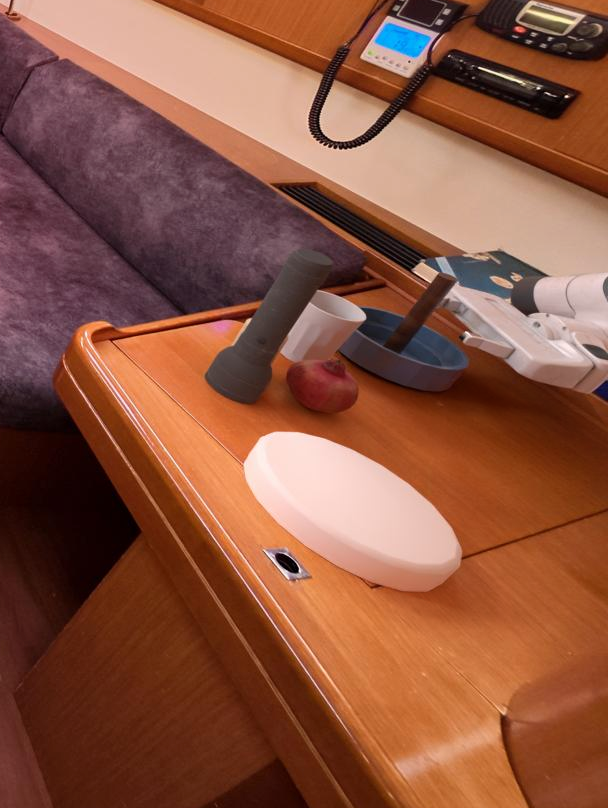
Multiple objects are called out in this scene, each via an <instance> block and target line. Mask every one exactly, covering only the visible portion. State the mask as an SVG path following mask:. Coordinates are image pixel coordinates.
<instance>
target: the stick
mask: <svg viewBox="0 0 608 808" xmlns="http://www.w3.org/2000/svg"><path fill="white" fill-rule="evenodd" d="M458 282H459V279H458V278H457V277H455V276H454V275H452V274H449V273H447V272H438V273H437V274H436V275H435V277H434V278H433V279H432V281H431V282H430V283H429V285H428V286H427V288H425V290H424V291H423V293H422V294H421V295H420V297H419V298H418V299H417V301H416V302H415V303H414V304H413V306H412V307H411V308H410V310H409V311H408V312H407V314H406V315H404V316H405V318H404V319H403V320H402V322H401V323H400V324H399V326H398V327H397V328H396V330H395V331H394V332H393V333H392V335H391V336H390V337H389V339H388V340H387V341H386V343H385V344H384V345H383V347H385V348H387V349H389V350H391V351H394V352H396V353H398V354H400V355H401V353H402V351H403V350H404V349H405V348H406V346H407V345H408V344H409V343H410V341H411V340H412V339H413V337H414V336H415V335H416V334H417V332H418V331H419V330H420V329H421V327H422V326H423V325H425V324H426V322H427V321H428V320H429V318H430V317H432V315H433V314H434V312H435V311H436V310H435V309H436V308H437V307H438V306H439V304H440V303H441V302H442V300H443V299H444V298H445V297H446V295H447V294H448V293H449V292H450V290H451V289H452V288H453V286H454V285H456V284H457V283H458ZM381 346H382V345H381Z"/></svg>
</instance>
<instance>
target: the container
mask: <svg viewBox="0 0 608 808" xmlns="http://www.w3.org/2000/svg"><path fill="white" fill-rule="evenodd" d="M242 465H243V473H244V478H245V482H246V484H247V485H248V487H249V489H250V490H251V492H252V494H253V495H254V497H255V500H256V501H257V502H258V503H259V504H260V505H261V507H262V508H263V509H264V510H265V511H266V513H268V514H269V515H270V517H271V518H272V519H273V520H274V521H275V522H276V523H277V525H279V526H280V527H282V528H283V529H284V530H285V531H286V532H287V533H289V534H290V535H291V536H292V537H294V538H295V539H296V540H297V541H299V543H301V544H302V545H303V546H305V547H306V548H308V549H309V550H311V551H312V552H314V553H315V554H316V555H318V556H320V557H321V558H323V559H325V560H327V561H328V562H330V563H331V564H332V565H334V566H336V567H338V568H340V569H342V570H344V571H346V572H348V573H350V574H352V575H354V576H357V577H359V578H361V579H363V580H365V581H367V582H370V583H373V584H375V585H379V586H383V587H385V588H389V589H393V590H397V591H399V592H400V591H401V592H412V593H413V592H415V593H427V592H429V591H432V590H434V589H435V588H437V587H438V586H441V585H442V584H443V583H444V582H445V581H447V579H449V577H451V576H452V575H453V574H454V573H455V572H456V571H457V570H458V569H459V568H460V567H461V563H462V556H463V548H462V546H461V545H460V542H459V540H458V537H457V536H456V533H455V530H454V529H453V527H452V525H450V524H449V522H448V521H447V519H445V517H444V516H443V515H442V514H441V513H440V512H439V511H438V509H437V508H436V507H435V506H434V504H432V503H431V501H429V500H428V499H427V498H425V496H423V495H422V494H421V493H420V492H419V491H418V490H416V489H415V488H414V487H413V486H412V485H411V484H410V483H409V482H407V481H405V480H404V479H402V478H400V477H399V476H398V475H397V474H395V473H394V472H393V471H390V469H388V468H386V467H385V466H383V465H382V464H380V463H378V462H376V461H375V460H372V459H371V458H368V457H367V456H365V455H363V454H362V453H359V452H357V451H355V450H354V449H352V448H349V447H348V446H344V445H342V444H339V443H337V442H335V441H332V440H330V439H327V438H323V437H319V436H316V435H311V434H308V433H303V432H299V431H273V432H271V433H268V434H266V435H262V436H260V437H259V439H258V440H257V442H256V443H255V445H254V446H253V448H252V449H251V450H250V451H249V453H248V455H247V456H246V458H245V460H244V462H243V464H242Z"/></svg>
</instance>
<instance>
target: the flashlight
mask: <svg viewBox="0 0 608 808" xmlns="http://www.w3.org/2000/svg"><path fill="white" fill-rule="evenodd" d="M333 269H334V263H333V260H332V259H331V258H330V257H328V256H327V255H325V254H324V253H321V252H319V251H316V250H313V249H308V248H304V247H303V248H301V247H300V248H297V249H295V250H292V251H291V252H290V254H289V256H288V258H287V259H286V261H285V262H284V264H283V266H282V268H281V270H280V272H279V274H278V275H277V277H276V278H275V280H274V282H273V283H272V285H271V286H270V288H269V290H268V292H267V293H266V295H265V297H264V298H263V300H262V301H261V303H260V305H259V306H258V308H257V309H256V311H255V312H254V314H253V316H252V317H251V318H252V319H251V321H250V322H249V324H248V326H247V327H246V329H245V330H244V332H243V333H242V334H241V335H240V337H239V338H238V340H237V342H236V343H235V345H234V346H231V345H230V346H227V347H225V348H223V349H222V350H220V351H219V352H218V354H216V356H215V357H214V359H213V361H212V362H211V363H210V365H209V367H208V369H207V370H206V372H205V374H204V378H205V381H206V382H207V384H208V385H209V386H210V387H211V388H212V389H213V390H215V392H217V393H219V394H220V395H221V396H223V397H225V398H227V399H229V400H231V401H234V402H236V403H240V404H245V405H252V404H256V403H257V402H258V401H259V399H260V398H261V397H262V395H263V394H264V392H265V391H266V389H267V387H268V386H269V385H270V382H271V380H272V378H273V367H272V365H270V363H271V361H272V360H273V358H274V357H275V355H276V354H277V352H278V350H279V347H280V346H281V344H282V343H283V341H284V340H285V338H286V337H287V335H288V334H289V332H290V331H291V329H292V328H293V326H294V325H295V323H296V322H297V320H298V319H299V317H300V316H301V314H302V313H303V311H304V310H305V308H306V307H307V305H308V304H309V302H310V301H311V299H312V298H313V296H314V294H315V293H316V291H317V290H319V288H320V287H321V286H323V284H324V283H325V281H326V280H327V278H328V277H329V276H330V274H331V272H332V271H333Z"/></svg>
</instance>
